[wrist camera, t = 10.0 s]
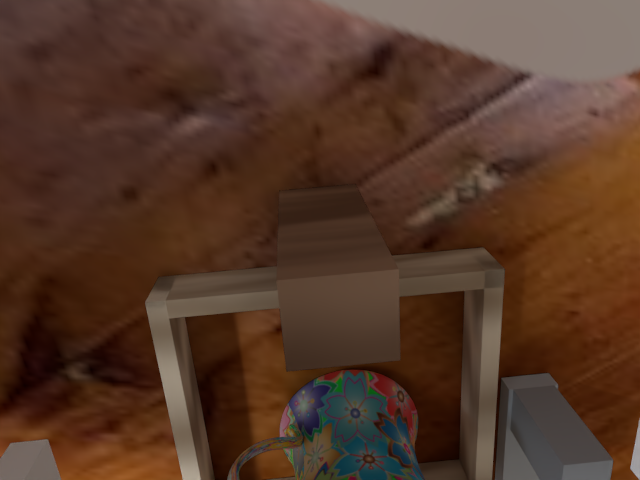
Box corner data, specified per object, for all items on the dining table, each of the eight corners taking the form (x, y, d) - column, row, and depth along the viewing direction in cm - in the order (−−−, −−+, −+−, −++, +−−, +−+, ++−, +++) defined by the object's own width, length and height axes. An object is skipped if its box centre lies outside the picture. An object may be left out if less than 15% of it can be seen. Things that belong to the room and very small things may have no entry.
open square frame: (143, 202, 27) (56, 300, 17) (486, 172, 27) (608, 249, 17) (203, 498, 34) (168, 694, 24) (473, 469, 35) (553, 648, 24)
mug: (449, 391, 32) (522, 545, 22) (371, 494, 35) (405, 672, 25) (279, 311, 30) (277, 446, 20) (207, 429, 32) (174, 601, 22)
